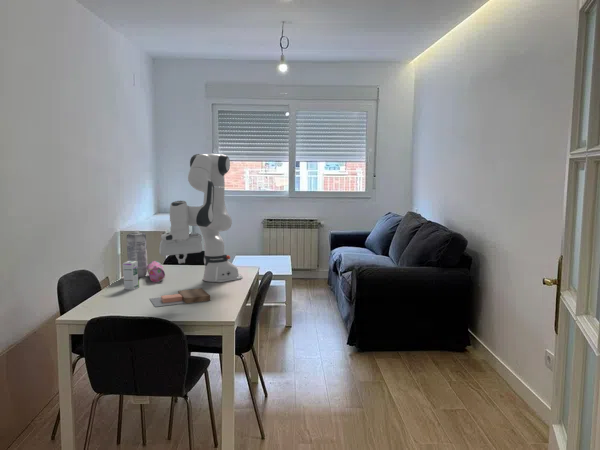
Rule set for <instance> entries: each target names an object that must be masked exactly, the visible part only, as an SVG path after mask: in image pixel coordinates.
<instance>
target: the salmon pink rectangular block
mask: <svg viewBox="0 0 600 450" xmlns="http://www.w3.org/2000/svg"><path fill="white" fill-rule="evenodd" d="M160 297H161V300H162V302H163V303H166V302H174V301H183V300H182V296H181V295H180V294H178V293H175V294H166V295H165V294H164V295H160Z"/></svg>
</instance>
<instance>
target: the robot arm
mask: <svg viewBox="0 0 600 450" xmlns="http://www.w3.org/2000/svg"><path fill="white" fill-rule="evenodd" d="M230 167H231V160H230V158H229V156H228V155H226V154H222V153H220V154H218V153H196V154H194V155H192V156H191V157H190V159H189V168H190V169H189V171H188V174H187V175H188V176H187V181H188V183H189V185H190V187H192V188H194V189H195V190H197V191H199V192H202V193H203V204H202V205H201V206H190V205H188V204H187V201H185V200H175V201H173V202H171V203H170V205H169V222H170V227H169V228H170V230H169V231H167V232H166V233H163V234H161V235H160V239H161V240H160V242H159V247H158V250H159V252H158V253H159V255H160V256H161V257H166V256H174V255H175V257H176V259H177V262H178V264H185V263H186V259H187V257H188V254H196V253H197V254H198V253H201V252H202V251H203V246H202V240H203V243H204V255H203V263H204V273H203V277H202V280H203V281H205V282H209V283H210V282H211V283H224V282H231V281H237V280H242V279H243V275H242V274H240V273H239V270H238V269H239V268H238V266H236V265H235V264H234V263H232V262H230V261H229V260H230V259H231V256H230V255H229V254H228V255H227V254H225V241H224V239H223V237H222V236H221V234H220V232H225V231H229V230H230V228H231V227H232V224H233V220H232V217H231V216H230V214H229V213H228V210H227V207H226V201H225V189H226V188H225V187H226V186H225V185H226V183H225V175H226V174H227V173H228V172H229V170H230ZM190 227H198V228H199V229H200V232H201V234H200V233H196V232H195V233H190ZM202 237H203V239H202ZM180 255H182V256H183V258H180Z"/></svg>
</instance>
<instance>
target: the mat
mask: <svg viewBox="0 0 600 450" xmlns="http://www.w3.org/2000/svg"><path fill="white" fill-rule="evenodd" d="M149 300H150V302H151V303H152V305H153V307H155V308H160V307H168V306H174V305H175V306H177V305H182V304H183V305H184V304H186V303H185V302H184V301H174V302H166V303H163V302H162V300H161V296H160V297H152V298H149Z"/></svg>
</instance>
